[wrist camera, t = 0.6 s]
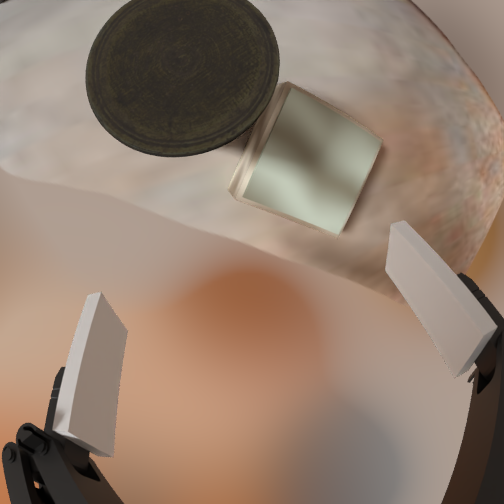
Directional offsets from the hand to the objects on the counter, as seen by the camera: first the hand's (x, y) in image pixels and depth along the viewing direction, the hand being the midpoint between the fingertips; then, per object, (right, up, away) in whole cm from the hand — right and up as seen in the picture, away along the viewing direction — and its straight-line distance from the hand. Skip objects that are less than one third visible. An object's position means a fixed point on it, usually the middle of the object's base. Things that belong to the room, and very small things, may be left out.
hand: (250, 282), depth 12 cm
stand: (+5, +11, +18) cm, 22 cm away
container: (-7, +16, +13) cm, 22 cm away
